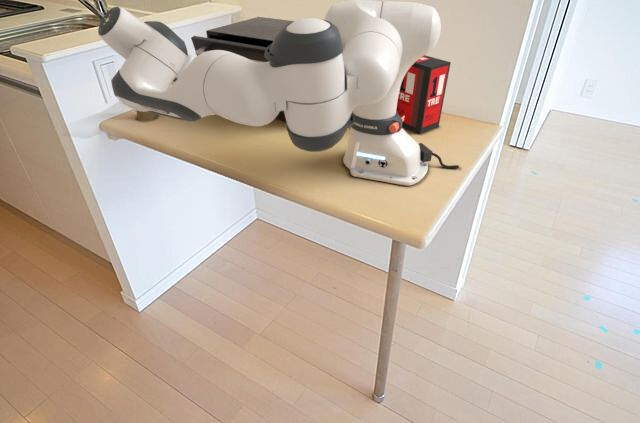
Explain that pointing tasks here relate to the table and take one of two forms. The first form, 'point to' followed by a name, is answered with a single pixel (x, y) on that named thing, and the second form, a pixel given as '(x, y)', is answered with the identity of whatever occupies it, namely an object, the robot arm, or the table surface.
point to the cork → (145, 116)
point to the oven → (250, 31)
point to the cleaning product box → (423, 94)
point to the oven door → (238, 48)
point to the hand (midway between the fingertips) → (198, 91)
